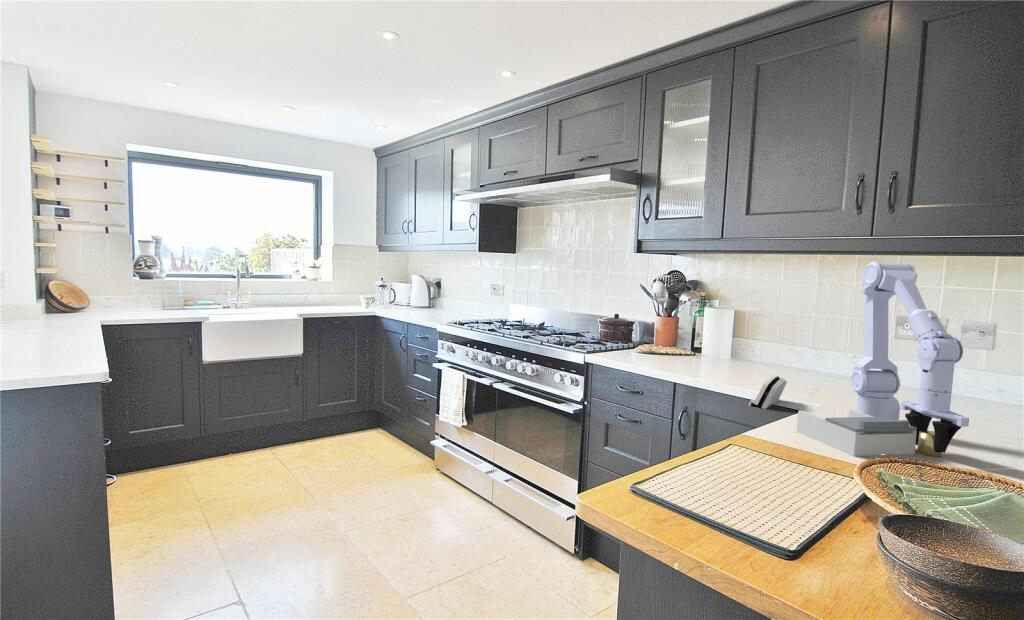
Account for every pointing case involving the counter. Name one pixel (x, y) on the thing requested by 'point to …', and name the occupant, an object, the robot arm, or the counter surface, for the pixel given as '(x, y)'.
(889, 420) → the lid
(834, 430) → the box
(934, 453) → the gold small block
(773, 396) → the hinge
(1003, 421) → the counter surface
